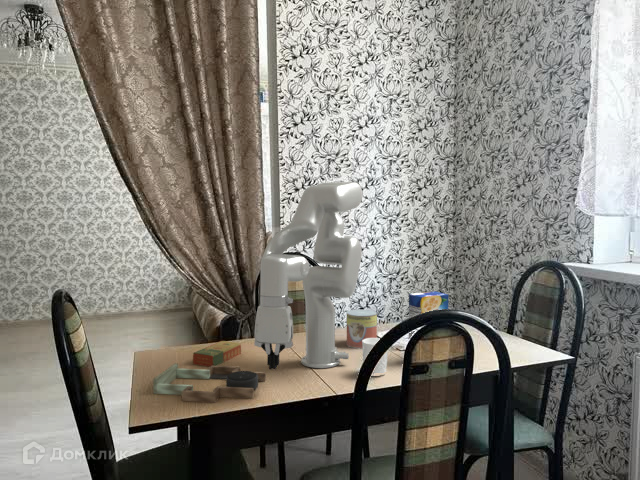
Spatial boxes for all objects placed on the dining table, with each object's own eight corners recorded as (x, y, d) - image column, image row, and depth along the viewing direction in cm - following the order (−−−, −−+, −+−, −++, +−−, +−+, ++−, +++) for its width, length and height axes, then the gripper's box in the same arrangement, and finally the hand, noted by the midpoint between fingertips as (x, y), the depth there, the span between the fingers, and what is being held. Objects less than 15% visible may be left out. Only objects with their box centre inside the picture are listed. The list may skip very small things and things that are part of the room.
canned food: (341, 346, 183) (341, 314, 182) (352, 339, 193) (352, 308, 193) (371, 350, 179) (371, 316, 178) (380, 342, 189) (380, 310, 188)
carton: (241, 354, 174) (241, 342, 174) (213, 368, 160) (213, 355, 160) (221, 351, 178) (221, 339, 178) (192, 364, 163) (192, 351, 163)
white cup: (381, 379, 148) (381, 345, 147) (357, 374, 152) (357, 342, 152) (392, 371, 155) (392, 339, 154) (369, 367, 159) (369, 336, 158)
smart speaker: (222, 394, 137) (222, 380, 136) (230, 383, 146) (230, 369, 145) (254, 395, 136) (254, 380, 136) (260, 383, 145) (260, 370, 145)
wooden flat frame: (269, 376, 151) (269, 363, 151) (248, 404, 129) (248, 389, 129) (180, 372, 155) (180, 359, 155) (146, 398, 133) (145, 384, 133)
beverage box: (408, 359, 168) (408, 293, 166) (434, 354, 172) (435, 291, 171) (420, 364, 161) (421, 297, 160) (447, 360, 166) (448, 294, 165)
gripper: (303, 300, 140) (302, 365, 141) (251, 298, 142) (250, 362, 143) (298, 304, 133) (297, 373, 133) (243, 302, 135) (243, 370, 136)
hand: (273, 367), depth 138 cm, fingers closed
